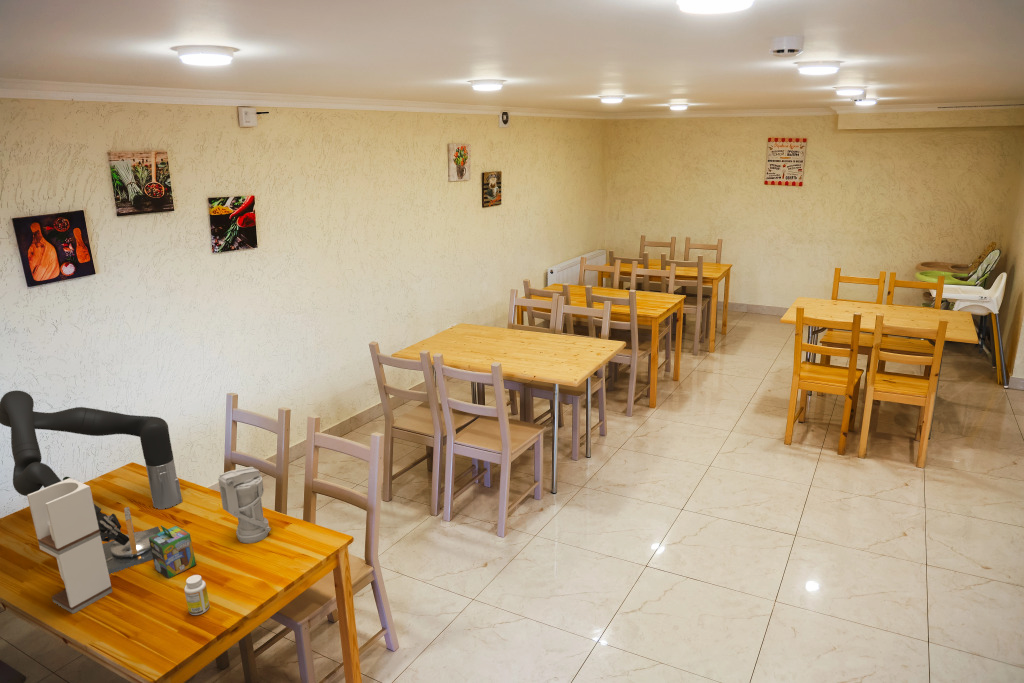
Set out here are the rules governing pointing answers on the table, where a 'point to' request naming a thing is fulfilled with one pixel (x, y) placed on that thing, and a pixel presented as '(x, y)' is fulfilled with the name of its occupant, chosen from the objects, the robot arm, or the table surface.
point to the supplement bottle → (196, 595)
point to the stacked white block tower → (72, 541)
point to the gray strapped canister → (245, 502)
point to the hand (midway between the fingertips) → (127, 542)
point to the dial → (132, 540)
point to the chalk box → (172, 551)
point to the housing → (125, 562)
